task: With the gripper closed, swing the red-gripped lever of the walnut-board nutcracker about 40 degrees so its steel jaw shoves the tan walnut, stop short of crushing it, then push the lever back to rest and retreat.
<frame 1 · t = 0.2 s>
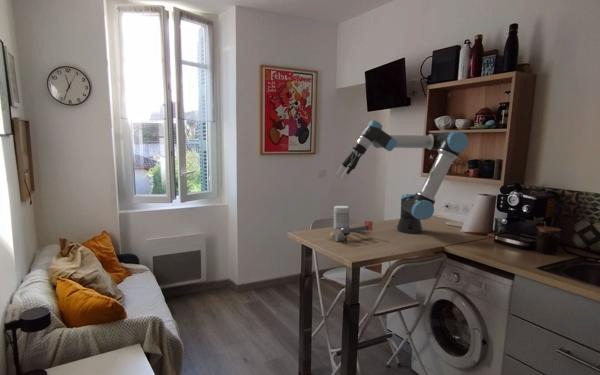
hand: (340, 177, 197), 34 cm above the table, tool tilted 35°, fingers open, 13 cm apart
cracker base: (354, 242, 189), on the table
lever: (353, 230, 190), point 6 cm above the table, hinge at 0.0°
walnut: (334, 239, 189), point 1 cm above the table, touching cracker base
supplement tub: (341, 230, 217), on the table
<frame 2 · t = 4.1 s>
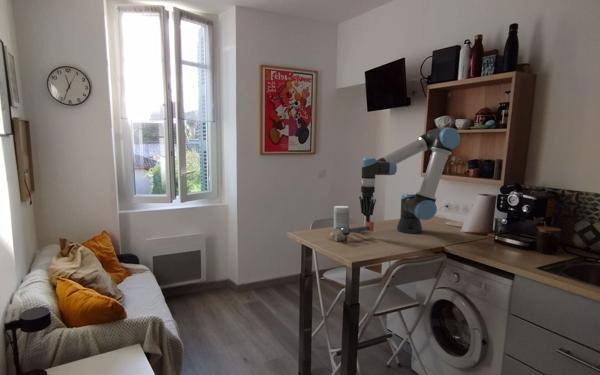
hand: (366, 226, 198), 6 cm above the table, tool pointing down, fingers closed
lever: (354, 230, 190), point 6 cm above the table, hinge at 3.8°, touching gripper
everything else where it was.
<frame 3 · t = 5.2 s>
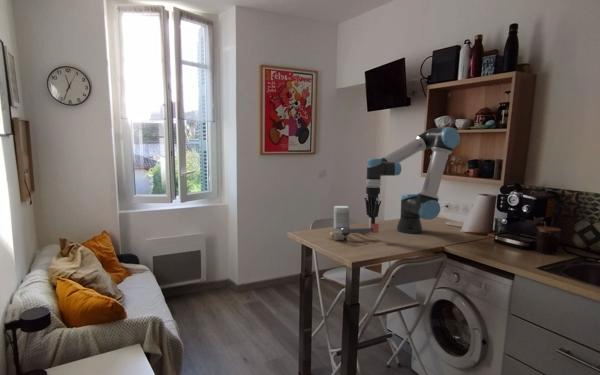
hand: (371, 228, 194), 6 cm above the table, tool pointing down, fingers closed
lever: (356, 231, 188), point 6 cm above the table, hinge at 20.9°, touching gripper, walnut
walnut: (334, 238, 190), point 1 cm above the table, touching cracker base, lever
everything else where it was.
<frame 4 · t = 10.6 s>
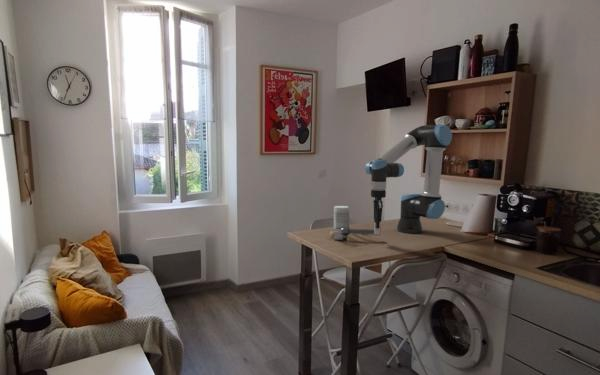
hand: (376, 233, 183), 6 cm above the table, tool pointing down, fingers closed
lever: (356, 232, 187), point 6 cm above the table, hinge at 35.3°, touching gripper
walnut: (334, 237, 192), point 1 cm above the table, touching cracker base
everything else where it was.
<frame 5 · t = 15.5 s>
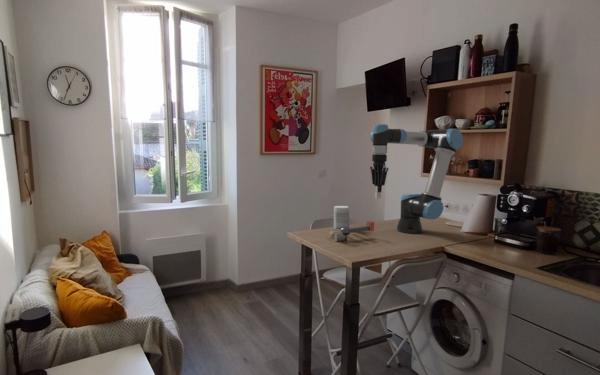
hand: (377, 198, 187), 24 cm above the table, tool pointing down, fingers closed
lever: (354, 231, 190), point 6 cm above the table, hinge at 5.1°
everything else where it was.
at the end: lever at +5° (first picture: +0°); walnut moved 2.7 cm from its start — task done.
